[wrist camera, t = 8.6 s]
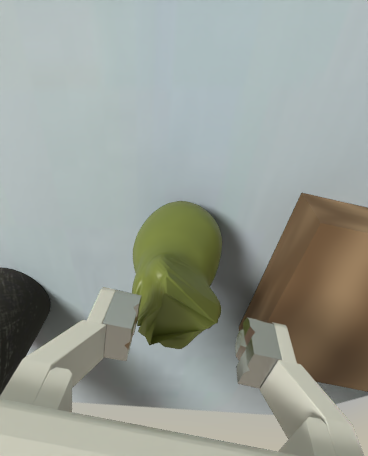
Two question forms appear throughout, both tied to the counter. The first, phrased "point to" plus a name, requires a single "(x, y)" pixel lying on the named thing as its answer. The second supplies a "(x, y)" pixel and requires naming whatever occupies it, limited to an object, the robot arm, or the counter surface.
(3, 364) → the travel mug
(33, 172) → the counter surface
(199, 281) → the pear
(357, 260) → the block
